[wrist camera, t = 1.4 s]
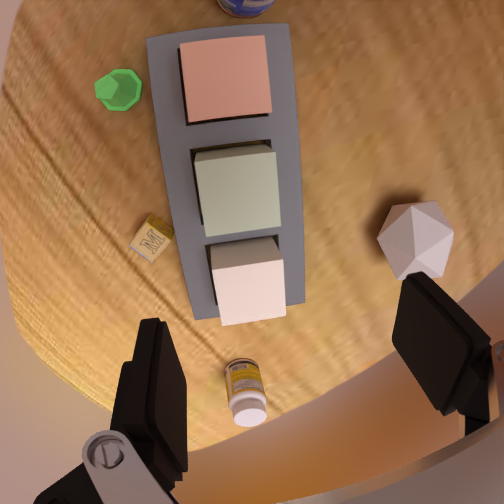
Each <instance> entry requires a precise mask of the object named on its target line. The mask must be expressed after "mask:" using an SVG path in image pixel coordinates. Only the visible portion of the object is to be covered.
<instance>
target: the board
mask: <svg viewBox="0 0 504 504" xmlns="http://www.w3.org/2000/svg"><path fill="white" fill-rule="evenodd" d="M260 35H264V36H265V45H266V54H267V64H268V73H269V83H270V94H271V104H272V112H271V113H263V115H260V116H250V117H240V118H231V119H223V120H215V121H208V122H201V123H194V124H188V120H187V112H186V104H185V96H184V88H183V79H182V71H181V62H180V54H181V51H180V44H182V43H188V42H195V41H203V40H211V39H220V38H230V37H243V36H260ZM146 45H147V56H148V65H149V74H150V83H151V91H152V99H153V106H154V114H155V121H156V128H157V134H158V141H159V147H160V154H161V160H162V166H163V172H164V177H165V183H166V189H167V194H168V199H169V205H170V210H171V215H172V220H173V225H174V230H175V235H176V240H177V245H178V249H179V254H180V259H181V263H182V268H183V272H184V277H185V281H186V285H187V290H188V294H189V298H190V302H191V306H192V310H193V314H194V318H195V320H201V319H208V318H215V317H220V311H219V306H218V301H217V295H216V290H214V284H213V279H212V273H211V268H210V262H209V257H208V251H207V244H214V243H221V242H227V241H234V240H241V239H248V238H255V237H262V236H269V235H273V240H274V242H275V244H276V246H277V248H278V250H279V252H280V254H281V256H282V258H283V265H284V284H285V303H286V306H290V305H295V304H301V303H305V257H304V223H303V199H302V178H301V160H300V144H299V130H298V116H297V104H296V92H295V81H294V70H293V60H292V51H291V41H290V33H289V24H288V23H268V24H246V25H232V26H221V27H211V28H203V29H195V30H188V31H182V32H175V33H170V34H164V35H159V36H154V37H149V38H146ZM255 140H265V143H266V146H268V147H269V148H271V149H272V150H274V151H275V152H276V162H277V175H278V189H279V202H280V217H281V226H279V227H272V228H265V229H258V230H251V231H244V232H237V233H230V234H223V235H217V236H210V237H206V233H205V227H204V221H203V215H202V214H201V209H200V203H199V196H198V190H197V183H196V177H195V170H194V163H193V156H192V149H194V148H201V147H207V146H215V145H222V144H230V143H238V142H246V141H255Z"/></svg>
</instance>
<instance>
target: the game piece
mask: <svg viewBox="0 0 504 504" xmlns="http://www.w3.org/2000/svg"><path fill="white" fill-rule="evenodd" d="M94 84H95V93H96V98H98V99H100V100H101V101H102V103H103V104H104V105H105V106H106V107H107V109H108V110H114V111H128V110H129V109H130V108H131V107H132V106H133V105H135V104H136V103H137V102H138V101H139V100H141V94H142V88H143V82H142V80H141V79H140V78H139V77H138V75H137V74H136V73H135V72H134V71H133V70H132V69H114V70H113V71H112V72H111V73H110V74H107V75H106V76H104V77H102V78H101V79H99V80H97V81H96V82H94Z"/></svg>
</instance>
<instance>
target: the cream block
mask: <svg viewBox="0 0 504 504" xmlns="http://www.w3.org/2000/svg"><path fill="white" fill-rule="evenodd" d="M210 247H211V264H212V274H213V279H214V285H215V290H216V295H217V301H218V306H219V311H220V317H221V322H222V326H226V325H233V324H239V323H245V322H252V321H258V320H264V319H270V318H276V317H281V316H286V303H285V284H284V265H283V258H282V256H281V254H280V252H279V250H278V248H277V246H276V244H275V242H274V240H273V238H272V236H268V237H261V238H254V239H247V240H240V241H234V242H227V243H220V244H213V245H210Z"/></svg>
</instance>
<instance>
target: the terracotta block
mask: <svg viewBox="0 0 504 504" xmlns="http://www.w3.org/2000/svg"><path fill="white" fill-rule="evenodd" d="M180 51H181V60H182V70H183V78H184V87H185V95H186V103H187V111H188V119H189V122H194V121H200V120H207V119H215V118H223V117H231V116H240V115H249V114H260V113H271V112H272V104H271V94H270V83H269V73H268V64H267V54H266V45H265V36H264V35H260V36H243V37H230V38H220V39H211V40H203V41H195V42H188V43H182V44H180Z"/></svg>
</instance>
